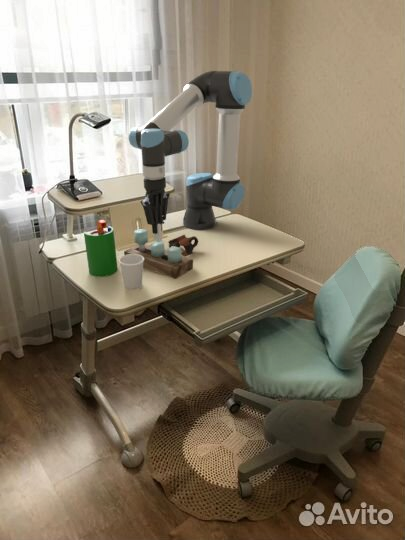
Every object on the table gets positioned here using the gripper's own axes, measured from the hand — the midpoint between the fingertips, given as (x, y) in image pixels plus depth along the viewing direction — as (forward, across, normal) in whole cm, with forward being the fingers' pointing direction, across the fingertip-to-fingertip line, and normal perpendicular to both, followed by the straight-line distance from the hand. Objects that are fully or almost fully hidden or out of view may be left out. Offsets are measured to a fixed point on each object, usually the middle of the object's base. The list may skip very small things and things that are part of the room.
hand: (157, 240), depth 158 cm
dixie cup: (+10, -18, -4) cm, 21 cm away
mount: (+10, 0, 0) cm, 10 cm away
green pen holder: (+10, -16, +12) cm, 22 cm away
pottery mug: (+10, +14, 0) cm, 18 cm away
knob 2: (+9, 0, 0) cm, 9 cm away
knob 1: (+6, 0, +8) cm, 10 cm away
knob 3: (+9, 0, -8) cm, 12 cm away
